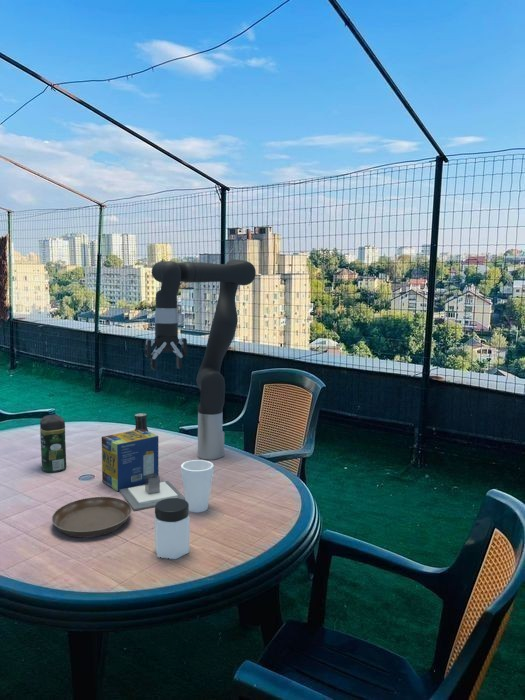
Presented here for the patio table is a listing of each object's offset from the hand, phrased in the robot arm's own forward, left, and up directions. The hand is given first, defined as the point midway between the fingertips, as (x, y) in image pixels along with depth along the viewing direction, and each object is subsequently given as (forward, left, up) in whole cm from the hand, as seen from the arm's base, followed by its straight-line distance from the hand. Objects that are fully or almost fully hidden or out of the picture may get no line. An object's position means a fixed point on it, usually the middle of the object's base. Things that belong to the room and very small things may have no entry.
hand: (166, 369), depth 179 cm
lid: (+11, +18, -36) cm, 41 cm away
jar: (+17, +52, -36) cm, 66 cm away
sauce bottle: (+7, -5, -36) cm, 37 cm away
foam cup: (+2, +32, -36) cm, 48 cm away
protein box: (+14, +3, -36) cm, 39 cm away
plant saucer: (+31, +28, -37) cm, 56 cm away
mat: (+11, +18, -36) cm, 42 cm away
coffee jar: (+34, -20, -36) cm, 54 cm away
